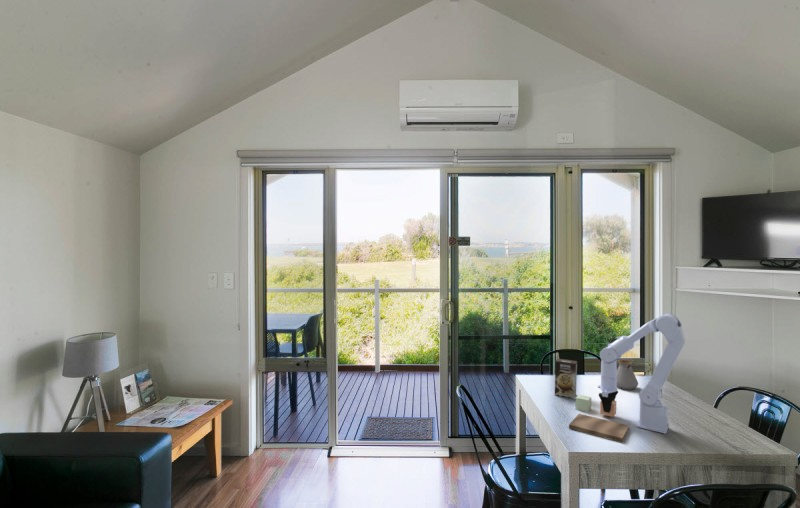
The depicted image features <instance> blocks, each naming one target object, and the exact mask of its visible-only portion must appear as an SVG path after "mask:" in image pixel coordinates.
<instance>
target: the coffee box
mask: <svg viewBox="0 0 800 508" xmlns="http://www.w3.org/2000/svg"><path fill="white" fill-rule="evenodd" d="M554 367H555V368H554V369H555V370H554V374H555V375H554V396H557V395H559V396H558V397H562V396H565V397H564V398H568V397H571V398H570V399H574V398H575V399H576V397H577V379H578V378H577V376H578V373H577V371H578V361H577V360H571V359H564V358H556V360H555V366H554Z"/></svg>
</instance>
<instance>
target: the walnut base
mask: <svg viewBox="0 0 800 508" xmlns="http://www.w3.org/2000/svg"><path fill="white" fill-rule="evenodd" d="M568 429H570V430H572V431H573V430H574V431H577V432H581V433H584V434H587V435H593V436H597V437H599V438H603V439H608V440H611V441H615V442H618V443H623V442H624V441H625V438H626V437H627V435H628V433H629V430H630V425H629V424H625V423H621V422H617V421H612V420H608V419H603V418H599V417H595V416H590V415H587V414H583V413H578V414H577V415H576V416H575V418H573V419H572V421H570V423H569V424H568Z"/></svg>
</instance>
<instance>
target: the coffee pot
mask: <svg viewBox="0 0 800 508" xmlns="http://www.w3.org/2000/svg"><path fill="white" fill-rule="evenodd" d="M617 364H619V365H618V366H617V388H618V387H619V388H618V389H621V388H622V389H621V390H625V389H628V391H631V389H633V390H634V389H636V388H637V387H638V386H639V382H638V379H637V377H636V375H635V372H634V370H633V365H632V364H633V361H630V360H626V359H625V360H624V359H619V360H617Z"/></svg>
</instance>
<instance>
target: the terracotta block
mask: <svg viewBox="0 0 800 508" xmlns="http://www.w3.org/2000/svg"><path fill="white" fill-rule="evenodd" d="M599 409H600V411H599V414H600V415H604V416H606V417H607V416H608V417H615V416H616V414H617V400H615V401H614V400H613V401H612V405H611V410H610V413H608V412H604V410H603V405H602V401H601V400H600V407H599Z"/></svg>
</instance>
